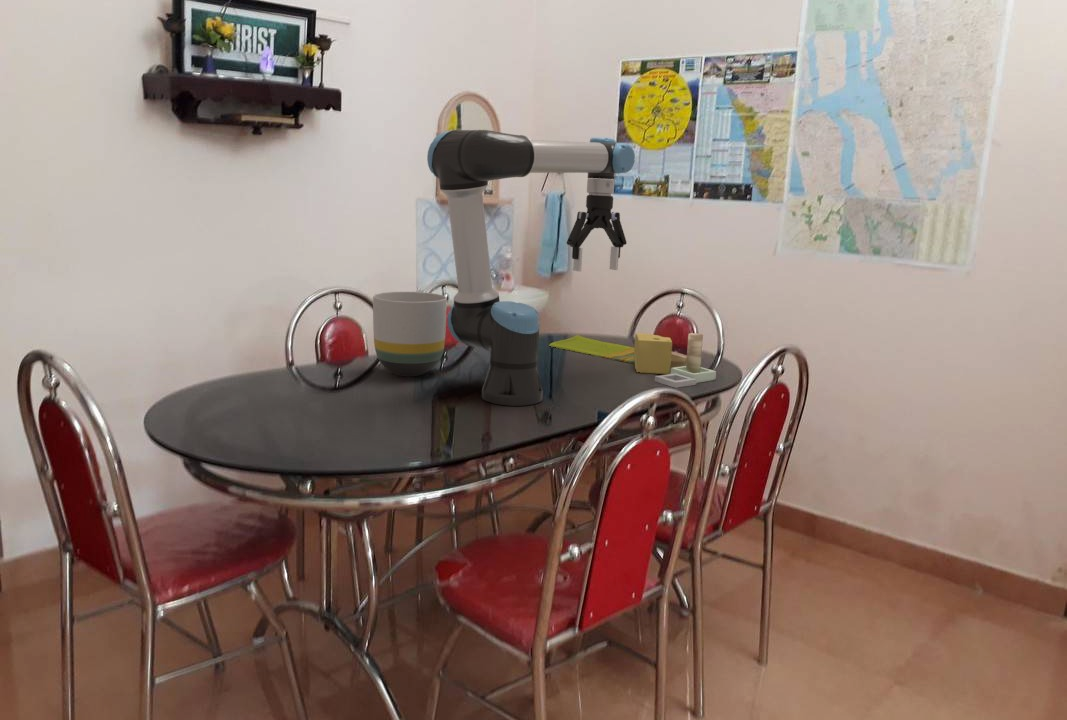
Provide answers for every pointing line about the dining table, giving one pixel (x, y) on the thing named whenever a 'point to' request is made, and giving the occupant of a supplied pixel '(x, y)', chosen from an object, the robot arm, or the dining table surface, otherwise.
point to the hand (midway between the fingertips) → (595, 270)
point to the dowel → (694, 352)
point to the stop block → (678, 360)
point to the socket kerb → (679, 382)
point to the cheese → (652, 353)
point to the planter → (409, 331)
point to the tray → (696, 374)
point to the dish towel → (597, 348)
